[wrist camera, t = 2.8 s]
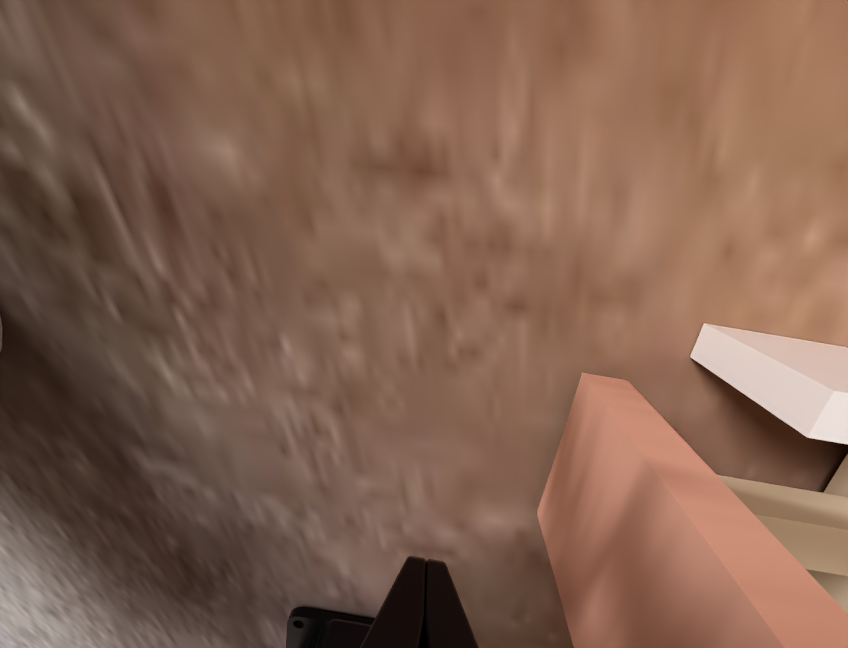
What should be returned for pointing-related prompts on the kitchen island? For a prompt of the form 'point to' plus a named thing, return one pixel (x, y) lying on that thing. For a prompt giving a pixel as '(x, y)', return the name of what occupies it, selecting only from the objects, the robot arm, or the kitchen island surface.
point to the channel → (783, 377)
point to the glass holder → (0, 334)
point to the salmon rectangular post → (685, 539)
